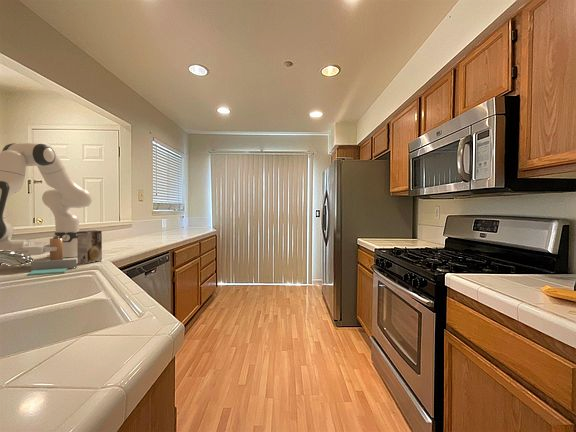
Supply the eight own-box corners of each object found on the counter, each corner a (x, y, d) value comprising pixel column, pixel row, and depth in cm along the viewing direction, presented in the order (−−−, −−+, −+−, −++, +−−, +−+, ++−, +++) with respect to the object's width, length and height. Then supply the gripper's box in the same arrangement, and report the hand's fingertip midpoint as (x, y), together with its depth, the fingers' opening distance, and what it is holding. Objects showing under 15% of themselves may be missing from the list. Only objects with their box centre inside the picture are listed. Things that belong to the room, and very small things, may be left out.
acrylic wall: (31, 270, 131) (31, 261, 131) (76, 267, 139) (76, 259, 139) (31, 271, 130) (31, 261, 130) (76, 268, 138) (76, 259, 138)
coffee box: (91, 260, 160) (92, 230, 160) (102, 261, 159) (102, 230, 159) (76, 263, 151) (76, 231, 151) (87, 264, 150) (87, 231, 150)
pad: (33, 271, 130) (33, 270, 130) (67, 269, 136) (67, 267, 136) (27, 275, 122) (27, 273, 122) (64, 272, 128) (64, 271, 128)
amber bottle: (50, 265, 145) (50, 236, 145) (63, 264, 148) (63, 235, 148) (48, 266, 141) (48, 236, 141) (62, 266, 143) (62, 236, 143)
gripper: (14, 244, 129) (54, 243, 136) (26, 240, 147) (62, 239, 154) (14, 259, 129) (54, 257, 136) (26, 253, 147) (62, 251, 154)
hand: (58, 247), depth 145 cm, fingers open, 8 cm apart
